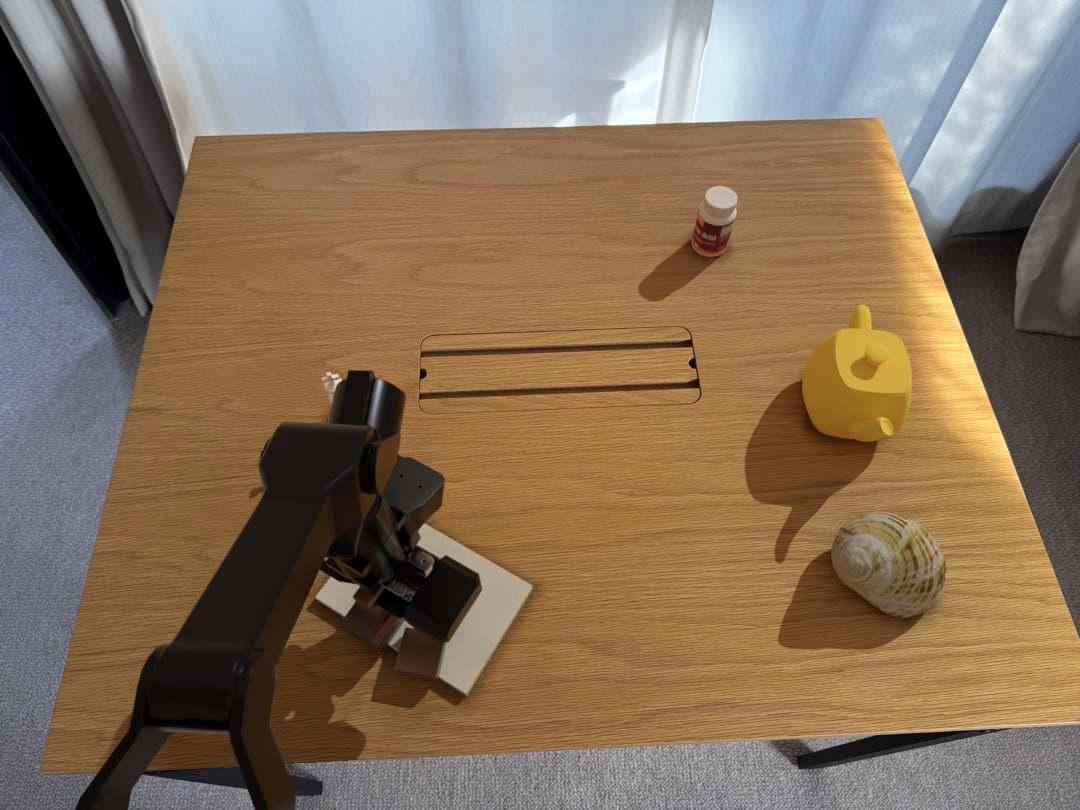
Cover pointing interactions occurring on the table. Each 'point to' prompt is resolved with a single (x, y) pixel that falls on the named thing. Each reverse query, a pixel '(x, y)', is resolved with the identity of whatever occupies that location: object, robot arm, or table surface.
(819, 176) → the table surface
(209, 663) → the robot arm
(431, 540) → the tile
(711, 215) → the pill bottle
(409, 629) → the chip
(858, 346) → the teapot
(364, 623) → the brown stepped block
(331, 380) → the chess piece
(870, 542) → the seashell
